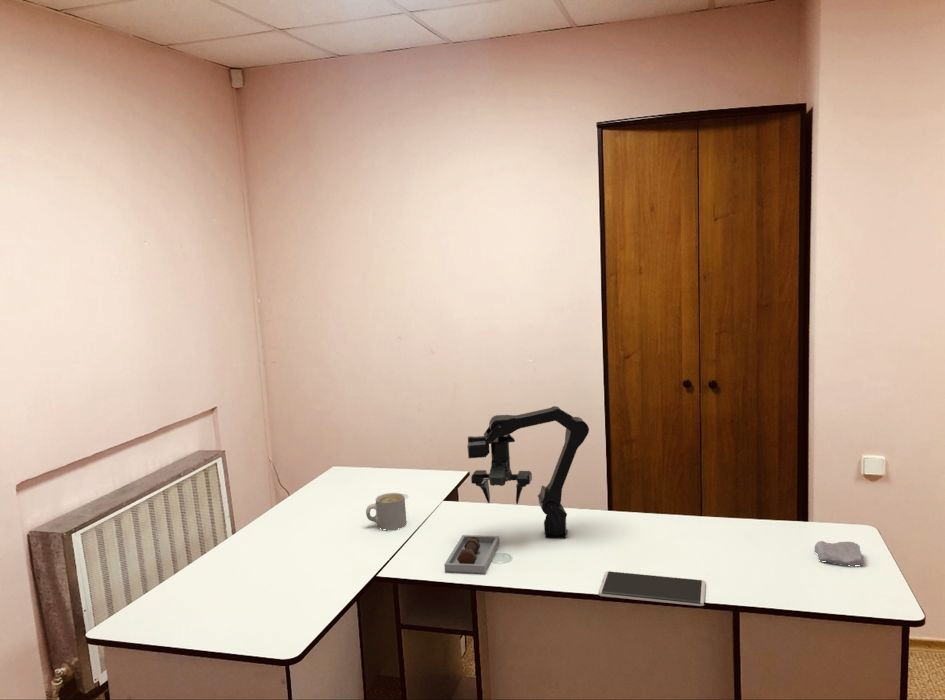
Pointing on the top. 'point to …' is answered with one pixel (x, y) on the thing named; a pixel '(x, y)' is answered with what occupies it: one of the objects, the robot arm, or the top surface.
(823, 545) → the stone block
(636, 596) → the smartphone
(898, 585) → the top surface
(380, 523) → the coffee mug
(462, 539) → the parts tray
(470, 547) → the bolt
